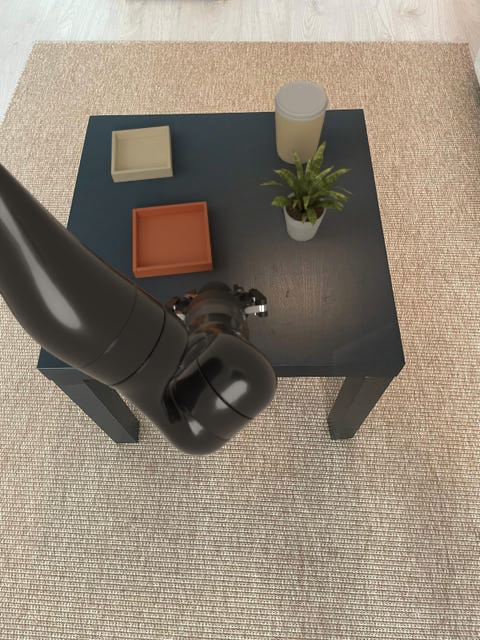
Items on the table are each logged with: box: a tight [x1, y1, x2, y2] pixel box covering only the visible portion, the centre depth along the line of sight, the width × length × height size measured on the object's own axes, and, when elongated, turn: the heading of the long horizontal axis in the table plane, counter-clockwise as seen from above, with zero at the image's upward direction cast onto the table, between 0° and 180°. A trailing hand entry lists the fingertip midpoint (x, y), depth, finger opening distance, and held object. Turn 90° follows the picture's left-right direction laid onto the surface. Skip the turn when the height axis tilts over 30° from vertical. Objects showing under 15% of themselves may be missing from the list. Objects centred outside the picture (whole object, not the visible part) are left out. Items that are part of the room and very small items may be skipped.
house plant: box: [258, 140, 358, 242], centre depth 77 cm, size 14×14×16 cm
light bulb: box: [197, 280, 233, 294], centre depth 72 cm, size 6×6×10 cm
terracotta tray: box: [132, 200, 214, 279], centre depth 84 cm, size 13×13×2 cm
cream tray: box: [110, 125, 174, 183], centre depth 93 cm, size 11×11×2 cm
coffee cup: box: [273, 79, 329, 165], centre depth 88 cm, size 9×9×12 cm
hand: (215, 293), depth 71 cm, fingers closed on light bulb, 5 cm apart
